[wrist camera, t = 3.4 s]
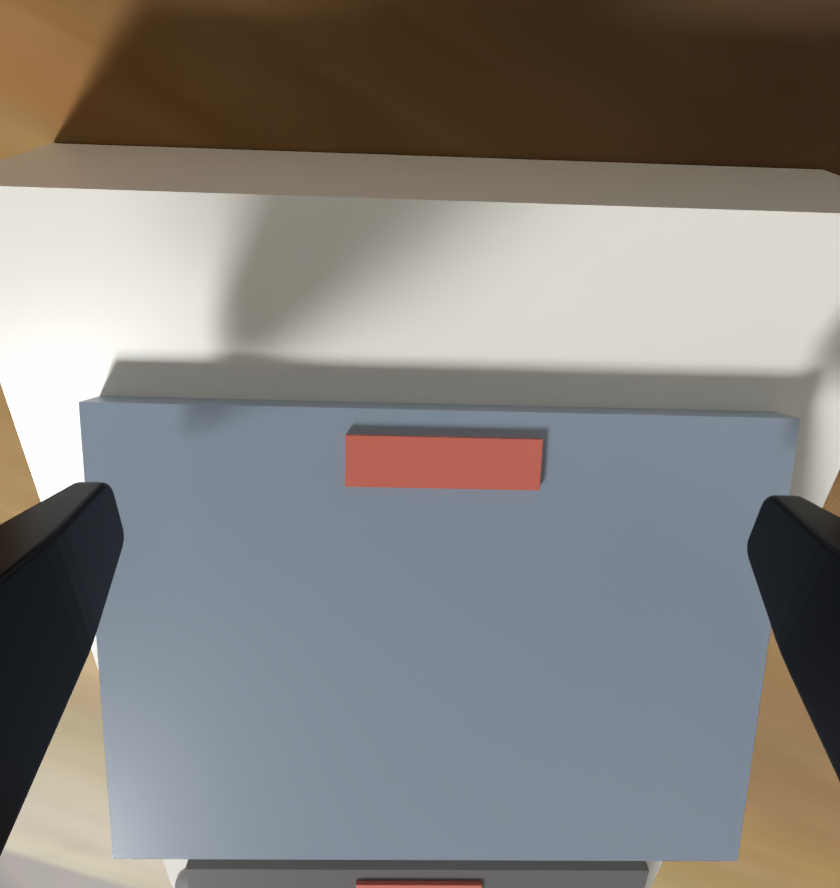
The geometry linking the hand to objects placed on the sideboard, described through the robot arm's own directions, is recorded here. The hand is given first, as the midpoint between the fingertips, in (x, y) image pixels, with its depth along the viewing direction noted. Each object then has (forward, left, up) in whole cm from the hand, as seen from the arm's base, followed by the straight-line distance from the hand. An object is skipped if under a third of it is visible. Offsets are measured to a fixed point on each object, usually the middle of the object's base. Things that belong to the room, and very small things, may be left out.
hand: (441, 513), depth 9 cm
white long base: (0, +9, -6) cm, 10 cm away
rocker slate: (0, +3, -1) cm, 3 cm away
